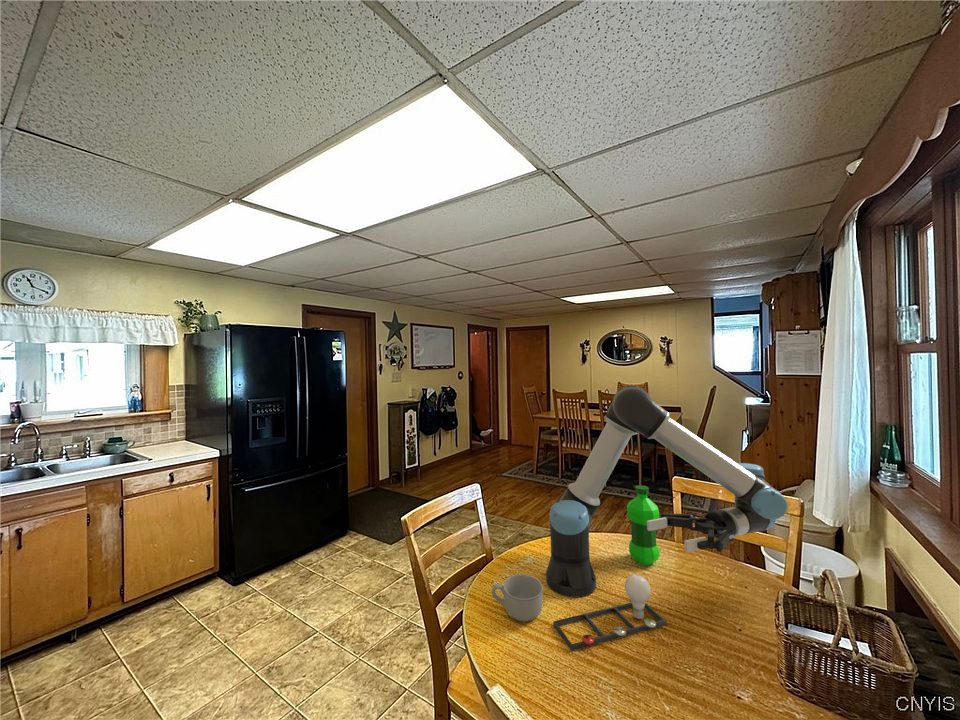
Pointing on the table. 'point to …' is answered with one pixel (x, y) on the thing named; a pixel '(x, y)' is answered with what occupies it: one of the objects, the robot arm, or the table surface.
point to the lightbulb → (638, 594)
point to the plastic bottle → (643, 527)
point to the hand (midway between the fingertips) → (665, 535)
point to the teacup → (520, 596)
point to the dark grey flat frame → (619, 631)
